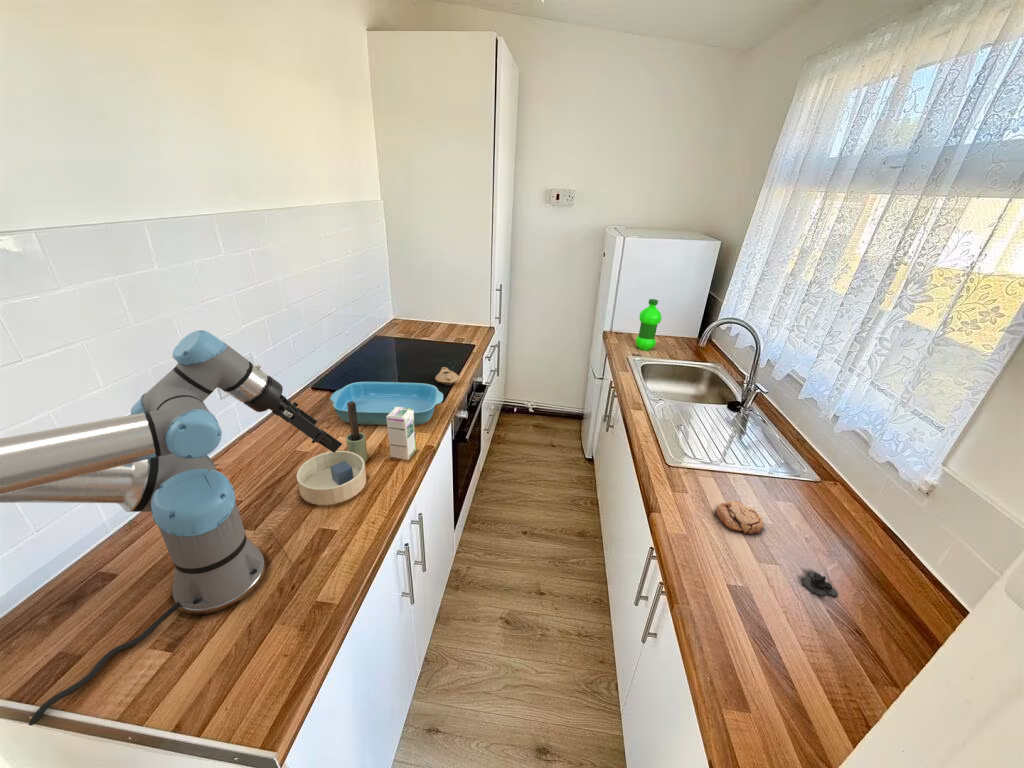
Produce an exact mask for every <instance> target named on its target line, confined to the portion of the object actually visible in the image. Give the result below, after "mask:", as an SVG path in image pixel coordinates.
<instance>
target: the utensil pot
mask: <svg viewBox="0 0 1024 768" xmlns="http://www.w3.org/2000/svg"><path fill="white" fill-rule="evenodd" d="M359 436H360V440H358V441H352V436H351V433H349V434H347V435H346V437H345V439H346V447H347V451H349V452H354V453H356V454H358V455H359V456H361V457H362V458H363V460H364V462H366V461H367V460H368V449H367V440H366V434H365V433H364V432H361V431H359Z"/></svg>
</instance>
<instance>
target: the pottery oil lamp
mask: <svg viewBox="0 0 1024 768" xmlns="http://www.w3.org/2000/svg"><path fill="white" fill-rule="evenodd" d="M434 378H435V381H436V382H437V383H439V384H441V385H445V386H451V385H452V384H454V383H456V382H458V381H459V379H460V376H459V375H458V373H456V372H454V371H453V370H450V369H449V368H448V367H447V366H443V367H441V368H440V370H439V372H438V373H437V375H436V376H435V377H434Z"/></svg>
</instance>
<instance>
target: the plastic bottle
mask: <svg viewBox="0 0 1024 768" xmlns="http://www.w3.org/2000/svg"><path fill="white" fill-rule="evenodd" d="M658 304H659V300H658V299H654V298H650V299H648V306H647V307H645V308H644V309H642V310H641V311H640V312H639V321H640V325H639V330H638V331H639V332H638V335H637V336H636V338H635V345H636V347H637V348H638V349H639V350H641V351H650V350H652V349H653V348H655V346H656V342H657V341H656V333H657V328H658V325H659V324H660V323H661V321H662V317H663V316H662V313H661V312H660V310H659V309H658V308H657V305H658Z"/></svg>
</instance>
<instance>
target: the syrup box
mask: <svg viewBox="0 0 1024 768" xmlns="http://www.w3.org/2000/svg"><path fill="white" fill-rule="evenodd" d="M386 418H387V425H386V427H387V435H388V445H389V453H390V458H396V459H400V460H401V459H403V460H407V461H408V460H410V459H411V458H412V456H413V455H414V454H415V452H416V451H417V437H416V425H415V424H414V411H413V409H410V408H404V407H395V408H394V409H393V410H392V411H391V412H390V413H389V414H388V415H387V416H386Z"/></svg>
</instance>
